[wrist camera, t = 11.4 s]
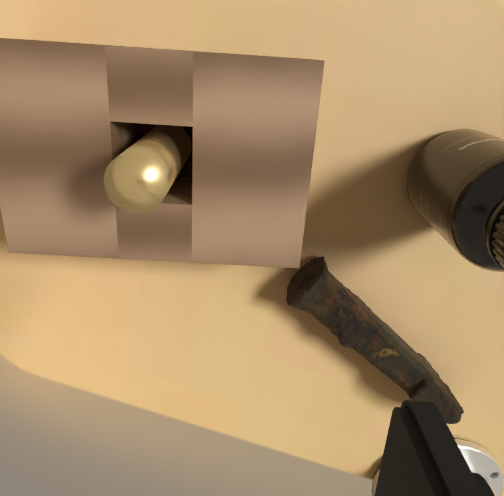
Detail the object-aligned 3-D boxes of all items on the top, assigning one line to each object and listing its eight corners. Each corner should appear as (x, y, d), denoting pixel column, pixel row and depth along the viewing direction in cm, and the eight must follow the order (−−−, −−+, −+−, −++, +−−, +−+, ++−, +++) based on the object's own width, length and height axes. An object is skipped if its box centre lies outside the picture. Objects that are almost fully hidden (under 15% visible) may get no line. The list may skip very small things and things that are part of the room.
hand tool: (280, 280, 35) (284, 312, 31) (318, 248, 34) (327, 276, 30) (420, 408, 41) (440, 449, 36) (456, 384, 39) (481, 424, 35)
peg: (190, 167, 31) (166, 215, 22) (148, 165, 31) (106, 211, 22) (191, 124, 30) (166, 155, 21) (146, 121, 30) (101, 151, 20)
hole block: (291, 232, 33) (299, 268, 27) (49, 218, 32) (8, 252, 27) (309, 59, 28) (324, 60, 23) (25, 39, 28) (-31, 36, 22)
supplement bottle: (466, 105, 29) (595, 136, 18) (518, 177, 31) (663, 243, 20) (383, 175, 31) (456, 241, 20) (438, 238, 33) (531, 329, 22)
